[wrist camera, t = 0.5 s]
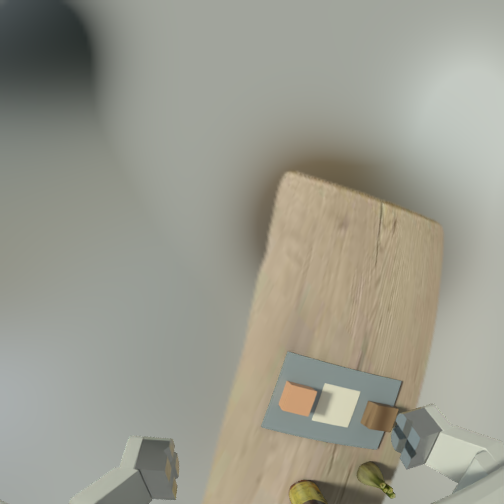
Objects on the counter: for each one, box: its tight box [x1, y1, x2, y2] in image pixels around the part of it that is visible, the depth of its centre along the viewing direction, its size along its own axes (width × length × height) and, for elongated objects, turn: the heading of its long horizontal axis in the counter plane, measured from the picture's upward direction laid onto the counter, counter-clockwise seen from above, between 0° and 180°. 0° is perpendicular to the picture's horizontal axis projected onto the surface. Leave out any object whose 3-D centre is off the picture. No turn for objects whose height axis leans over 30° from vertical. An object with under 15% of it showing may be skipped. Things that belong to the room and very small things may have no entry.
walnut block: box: [360, 401, 399, 432], centre depth 54 cm, size 5×5×5 cm
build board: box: [261, 351, 402, 450], centre depth 57 cm, size 26×16×1 cm, turn 72°
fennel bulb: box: [357, 462, 395, 498], centre depth 48 cm, size 6×5×12 cm
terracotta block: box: [279, 381, 317, 417], centre depth 54 cm, size 5×5×5 cm
